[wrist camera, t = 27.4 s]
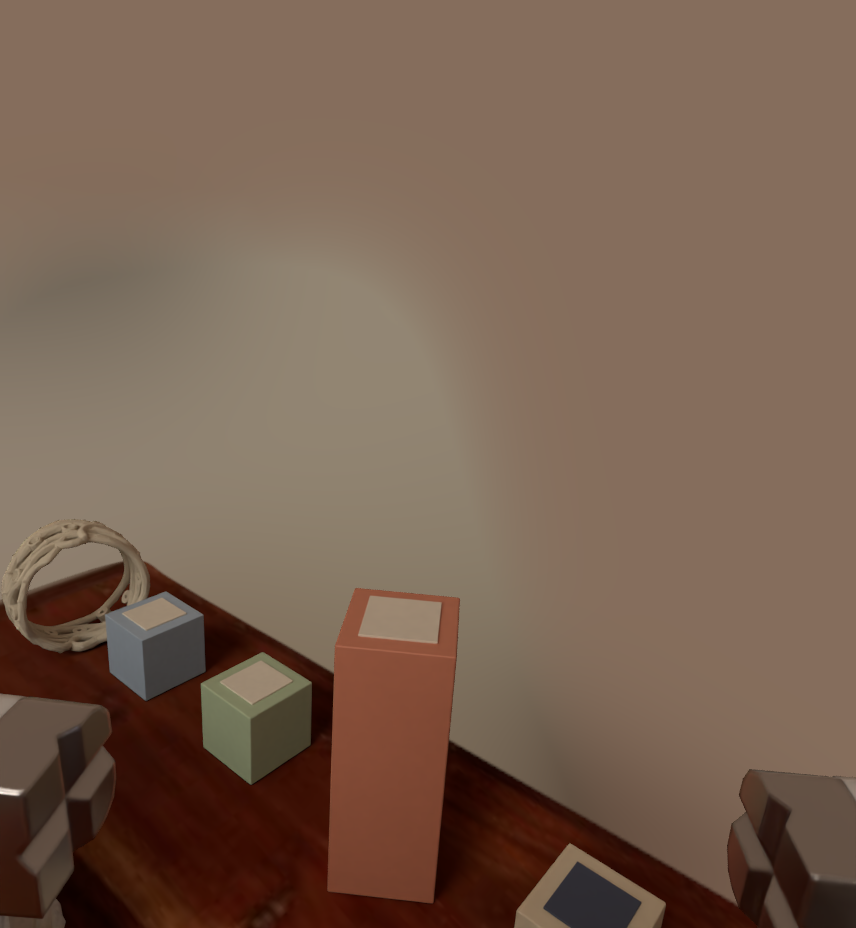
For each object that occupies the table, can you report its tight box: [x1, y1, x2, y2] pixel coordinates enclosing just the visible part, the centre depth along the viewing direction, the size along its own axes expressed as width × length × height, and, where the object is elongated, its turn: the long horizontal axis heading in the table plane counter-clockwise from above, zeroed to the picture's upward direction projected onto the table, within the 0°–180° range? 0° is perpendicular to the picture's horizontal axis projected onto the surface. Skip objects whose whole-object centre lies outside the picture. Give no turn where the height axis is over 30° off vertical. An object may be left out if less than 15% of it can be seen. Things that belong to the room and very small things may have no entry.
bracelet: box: [1, 519, 150, 653], centre depth 45 cm, size 4×8×8 cm, turn 134°
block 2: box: [201, 652, 312, 785], centre depth 37 cm, size 4×4×4 cm
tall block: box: [327, 588, 460, 903], centre depth 30 cm, size 4×4×12 cm
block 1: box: [105, 592, 206, 701], centre depth 43 cm, size 4×4×4 cm
